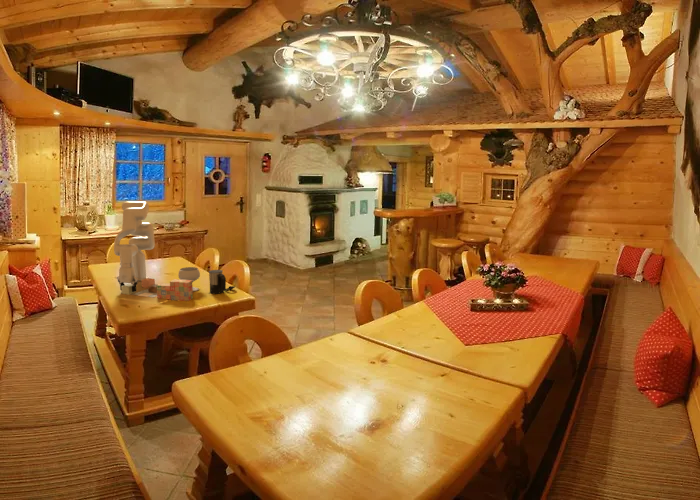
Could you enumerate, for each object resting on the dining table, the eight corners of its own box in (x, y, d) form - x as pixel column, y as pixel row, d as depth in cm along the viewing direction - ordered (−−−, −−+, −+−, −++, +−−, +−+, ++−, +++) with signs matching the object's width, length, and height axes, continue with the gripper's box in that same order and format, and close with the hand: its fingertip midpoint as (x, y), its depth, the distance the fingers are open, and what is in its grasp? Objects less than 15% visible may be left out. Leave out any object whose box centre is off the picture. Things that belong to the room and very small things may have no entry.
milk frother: (206, 293, 332) (205, 271, 329) (220, 287, 346) (220, 267, 344) (224, 295, 327) (223, 273, 324) (238, 290, 341) (237, 269, 338)
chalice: (189, 286, 348) (188, 265, 345) (204, 289, 341) (204, 268, 339) (174, 291, 335) (173, 269, 332) (190, 294, 329) (189, 272, 326)
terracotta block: (142, 288, 341) (141, 280, 340) (148, 286, 347) (147, 278, 346) (148, 289, 339) (148, 280, 338) (155, 287, 345) (154, 278, 344)
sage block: (121, 294, 325) (121, 286, 324) (128, 292, 330) (128, 284, 329) (128, 296, 323) (128, 287, 322) (135, 293, 328) (135, 284, 327)
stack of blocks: (157, 299, 316) (155, 280, 314) (161, 296, 322) (160, 278, 320) (188, 301, 314) (188, 282, 311) (193, 298, 320) (192, 279, 318)
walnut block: (148, 292, 329) (148, 286, 329) (154, 289, 335) (154, 284, 334) (155, 293, 327) (155, 287, 327) (162, 290, 333) (161, 285, 332)
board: (130, 295, 323) (130, 294, 322) (149, 289, 338) (148, 288, 338) (152, 298, 317) (152, 297, 316) (170, 292, 332) (170, 291, 332)
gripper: (112, 265, 322) (113, 290, 325) (132, 267, 316) (134, 293, 319) (121, 263, 329) (122, 288, 332) (141, 265, 323) (143, 290, 326)
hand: (128, 290), depth 326 cm, fingers open, 9 cm apart
